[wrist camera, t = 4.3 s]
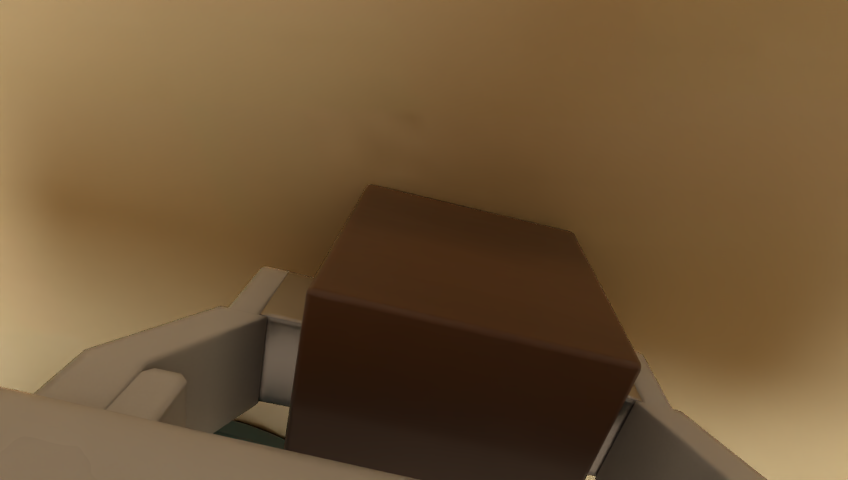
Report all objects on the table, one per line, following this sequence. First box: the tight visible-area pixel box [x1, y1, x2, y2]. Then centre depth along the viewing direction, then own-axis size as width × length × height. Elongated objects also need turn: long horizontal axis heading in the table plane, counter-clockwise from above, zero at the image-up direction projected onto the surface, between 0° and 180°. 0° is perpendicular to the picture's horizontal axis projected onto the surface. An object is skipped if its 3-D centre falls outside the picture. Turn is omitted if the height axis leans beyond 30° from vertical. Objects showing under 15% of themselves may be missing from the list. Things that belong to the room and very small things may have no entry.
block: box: [284, 185, 641, 480], centre depth 9 cm, size 4×4×4 cm
